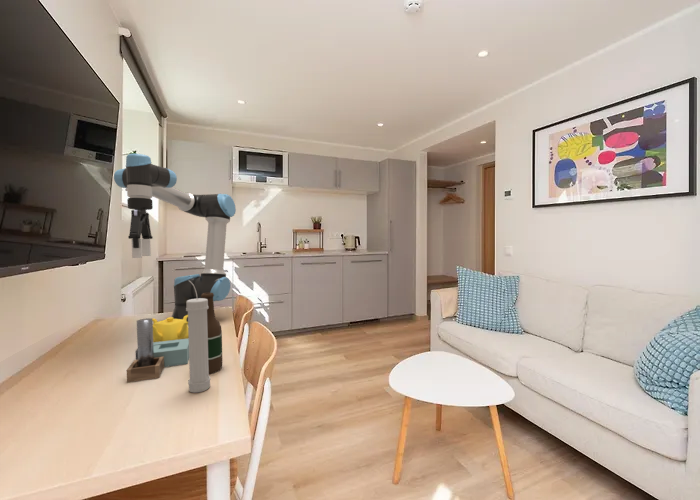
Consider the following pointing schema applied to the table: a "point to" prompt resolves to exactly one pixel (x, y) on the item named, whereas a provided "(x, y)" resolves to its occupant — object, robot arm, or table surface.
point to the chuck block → (172, 351)
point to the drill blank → (145, 342)
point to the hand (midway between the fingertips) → (142, 256)
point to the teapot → (170, 329)
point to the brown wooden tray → (145, 370)
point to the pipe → (198, 344)
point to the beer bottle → (213, 336)
